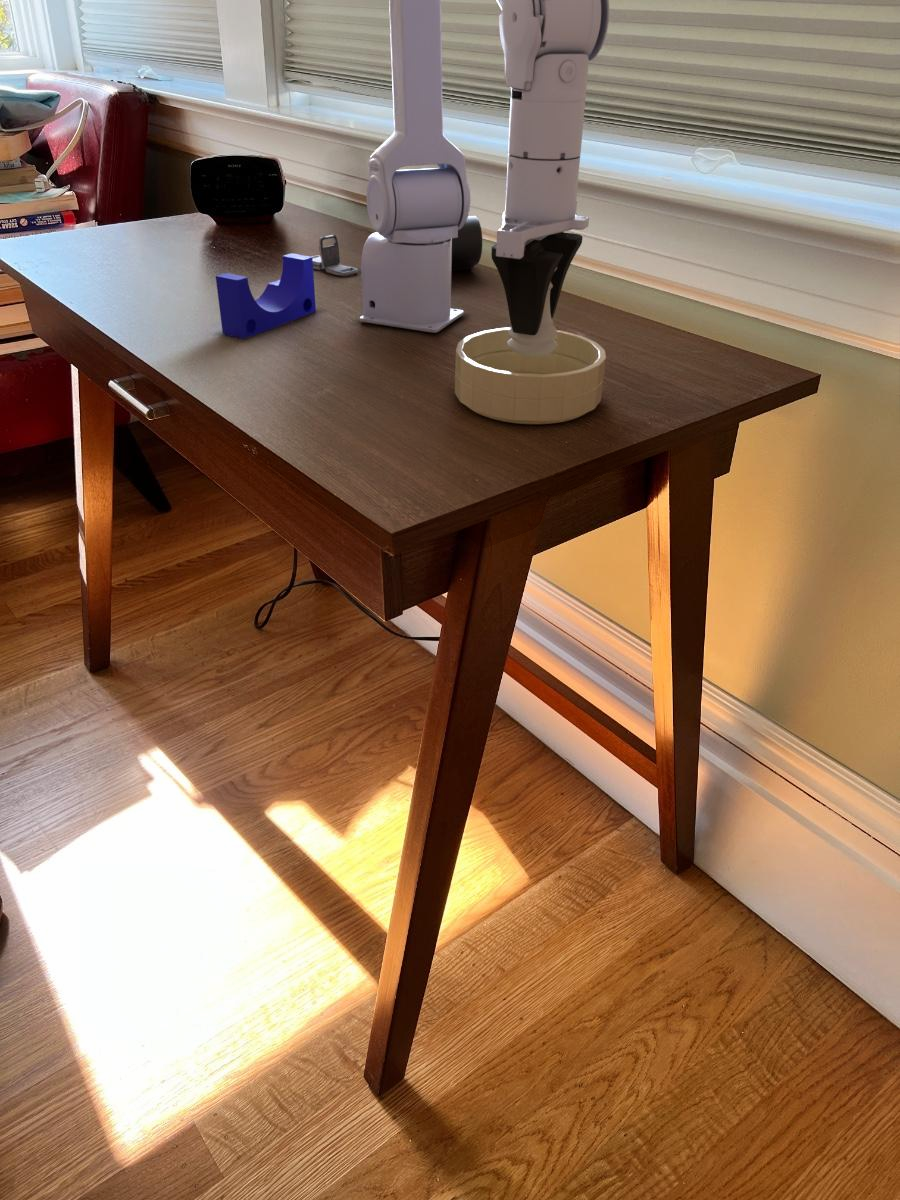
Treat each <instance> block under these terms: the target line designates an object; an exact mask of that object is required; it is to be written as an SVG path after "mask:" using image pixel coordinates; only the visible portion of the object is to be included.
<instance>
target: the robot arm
mask: <svg viewBox="0 0 900 1200" xmlns="http://www.w3.org/2000/svg"><path fill="white" fill-rule="evenodd" d="M495 1H496V2H497V4H498V6H499V8H500V10H501V13H500V14H499V18H498V23H499V26H498V27H499V39H500V44H501V48H502V51H503V55H504V79H505V86H506V87H507V88H509V89H510V103H509V104H510V106H509V127H508V145H507V146H508V149H507V164H506V165H507V167H506V168H507V169H506V187H505V189H506V190H505V205H504V206H505V208H504V211H503V212H502V219H501V227H500V228H499V229H497V230H496V244H493V245H492V246H491V251H490V252H491V253H490V255H491V260H492V262H493V264H494V266H495V267H496V270H497V273H498V274H499V276H500V279H501V282H502V285H503V289H504V293H505V297H506V303H507V309H508V314H509V321H510V325H511V326H512V330H513V332H514V333H520V334H527V335H536V334H537V332H538V330H539V327H540V324H541V320H542V315H543V310H544V305H545V300H546V295H547V291H548V288H549V284H550V281H551V283H552V285H553V287H552V288H551V290H550V314H551V319H552V320H553V318H554V316H555V313H556V309H557V306H558V302H559V299H560V295H561V293H562V288H563V285H564V281H565V279H566V276H567V274H568V271H569V269H570V266H571V264H572V262H573V260H574V258H575V256H576V254H577V252H578V251H579V249H580V247H581V246H582V244H583V235H581V234H579V233H573V232H568V231H571V230H574V231H575V230H576V231H583V230H585V229H586V228H589V226H590V225H589V224H590V217H588V216H583V215H578V214H577V208H578V200H577V199H578V186H579V177H580V165H581V164H580V162H581V153H582V144H583V143H582V142H583V132H584V131H583V130H584V121H585V120H584V119H585V109H586V98H587V97H586V95H587V87H588V86H587V84H588V76H589V75H588V74H589V63H590V62H591V61H592V60H594V59H595V58H596V57H597V56H598V54H599V53H600V51H601V49H602V48H603V45H604V43H605V41H606V37H607V34H608V29H609V23H610V0H495ZM388 7H389V10H388V11H389V28H390V29H389V32H390V33H389V34H390V59H391V60H390V61H391V83H392V85H391V86H392V102H393V103H392V107H393V108H392V109H393V133H392V134H391V135H390V136H389V137H388V138H387V139H386V140H385V141H384V142H383V143H382V144H381V145H380V146H379V147H378V148H376V150H374V152H373V153H372V154H371V155H370V157H369V163H368V182H367V186H366V195H365V196H366V197H365V198H366V209H367V216H368V218H369V222H370V224H371V226H372V228H373V230H375V231H376V232H373V233H371V234H370V235H368V237H367V239H366V240H365V241H364V244H363V248H362V251H361V252H362V253H361V261H360V267H361V268H360V269H361V270H360V271H361V299H362V315H361V316H360V317H359V321H360V322H362V323H369V324H374V325H381V326H386V327H393V328H398V329H399V328H401V329H406V330H412V331H419V332H425V333H435V334H436V333H438V332H440V331H442V330H443V329H445V328H446V327H447V326H449V325H450V324H452V323H453V322H455V321H456V320H458V319H459V318H461V317H462V316H463V315H464V313H465V311H464V310H463V309H458V308H451V306H452V271H451V261H452V238H457V237H458V230H459V229H461V228H462V227H463V226H464V224H465V222H466V220H467V218H468V216H470V211H471V190H470V185H469V182H468V178H467V167H466V159H465V157H466V156H465V155H464V153H463V152H462V151H461V150H460V149H459V148H458V147H457V146H455V144H453V143H452V142H451V141H450V140H449V139H448V138H447V137H446V136H445V135H444V125H443V124H444V121H443V120H444V116H443V115H444V114H443V110H444V109H443V64H442V63H443V56H442V55H443V54H442V53H443V52H442V48H443V47H442V0H388ZM430 165H431V166H432V165H433V166H434V165H436V166H438V168H437V167H434V168H430V167H429V168H417V169H416V168H415V169H413V168H412V169H401V168H403V167H412V166H414V167H415V166H430ZM556 267H557V269H556ZM555 269H556V271H555ZM554 271H555V272H554ZM511 326H510V327H511Z"/></svg>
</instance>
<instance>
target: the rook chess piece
mask: <svg viewBox="0 0 900 1200" xmlns="http://www.w3.org/2000/svg"><path fill="white" fill-rule="evenodd" d="M556 269H557V267H556ZM556 269H555V271H556ZM555 271H554V272H555ZM552 287H553V285H552V283H551V281H550V284H549V288H548V291H547V295H546V300H545V305H544V310H543V315H542V320H541V324H540V327H539V330H538V332H537V334H536V335H527V334H520V333H514V332H513V330H512V326H509V328H510V329H509V335H510V337H511V339H510V340H509V341H507V342H508V346H509V347H510V349H511V350H512V351H513V352H515V353H517V354H520V355H526V356H543V355H548V354H551V353H552V352H553V351H554V350H555V348H556V347H557V346H558V345H557V342H556V341H554V339H555V338H556V337H557V336H558V335H557V330H558V329H557V328H556V326H555V325H554V324H555V323H554V319H553V318H552V319H551V314H550V290H551V288H552Z"/></svg>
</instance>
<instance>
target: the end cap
mask: <svg viewBox="0 0 900 1200" xmlns="http://www.w3.org/2000/svg"><path fill="white" fill-rule="evenodd" d="M482 254H483V231H482V226H481V221H480V220H479V218H478V217H477V216H476V215H468V218H467V220H466V222H465V224H464V226H463V227H462V228H461V229H459V230H458V237H457V238H452V261H451V272H452V271H466V270H467V271H468V270H473V269H474V268H475V266H477V265H478V264H479V263H480V261H481V259H482Z"/></svg>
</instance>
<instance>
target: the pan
mask: <svg viewBox="0 0 900 1200" xmlns="http://www.w3.org/2000/svg"><path fill="white" fill-rule="evenodd" d="M509 329H510V327H500V328H499V327H498V328H494V329H487V330H482V331H479V332H476V333H473V334H469V335H467V336H465V337H464V338H462V339H461V340H460V341H459V342H457V344H456V347H455V360H454V361H455V363H454V365H455V366H454V395H455V396H456V398H457V399H458V401H459V403H461V404H463V405H464V406H465V407H467V408H468V409H470V410H471V411H473V412H474V413H476V414H479V415H481V416H483V417H485V418H489V419H492V420H495V421H500V422H506V423H512V424H521V425H548V424H549V425H550V424H557V423H565V422H569V421H572V420H575V419H578V418H580V417H583V416H584V415H586V414H587V413H590V412H592V411H593V410H595V409H596V408H597V407H598V405H599V404H600V403H601V401H602V398H603V397H602V396H603V387H604V378H605V370H606V361H607V355H606V350H605V349H604V348H603V347H602V346H601V345H600V344H599V343H598V342H596V341H594V340H592V339H589V338H587V337H586V336H583V335H581V334H580V335H579V334H576V333H572V332H569V331H565V330H558V329H556V330H557V335H558V336H557V337H556V338H555V339H554V341H556V342H557V345H558V346H557V347H556V348H555V350H554V351H553V352H552V353H551V354H548V355H543V356H526V355H520V354H517V353H515V352H513V351H512V350H511V349H510V347H509V346H508V342H507V341H509V340H510V339H511V337H510V335H509Z"/></svg>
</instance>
